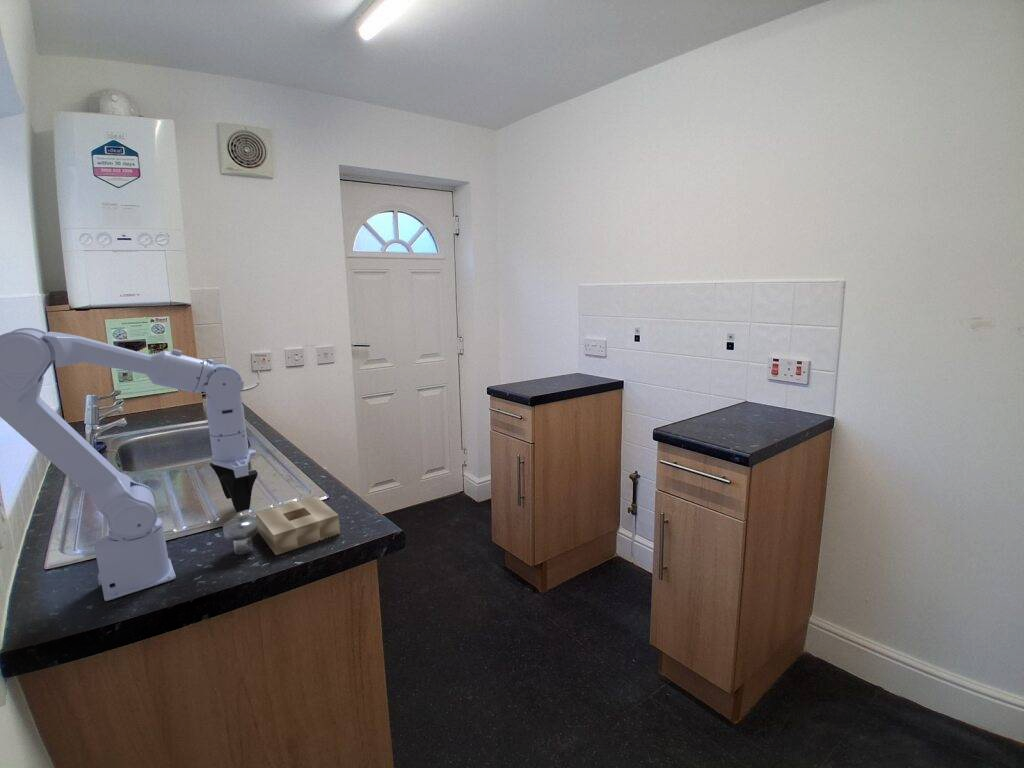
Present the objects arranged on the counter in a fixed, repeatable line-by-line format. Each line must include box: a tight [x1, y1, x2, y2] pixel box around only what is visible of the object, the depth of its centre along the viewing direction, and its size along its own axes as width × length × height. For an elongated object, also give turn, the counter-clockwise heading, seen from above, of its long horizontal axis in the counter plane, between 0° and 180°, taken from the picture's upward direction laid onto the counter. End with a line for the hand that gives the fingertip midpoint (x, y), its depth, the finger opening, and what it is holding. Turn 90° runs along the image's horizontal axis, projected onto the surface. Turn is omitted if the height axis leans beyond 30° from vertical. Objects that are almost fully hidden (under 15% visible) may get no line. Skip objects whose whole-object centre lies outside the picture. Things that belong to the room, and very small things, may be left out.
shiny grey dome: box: [222, 515, 259, 555], centre depth 94 cm, size 6×6×6 cm
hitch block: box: [255, 496, 341, 556], centre depth 100 cm, size 12×12×4 cm
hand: (237, 503), depth 93 cm, fingers open, 7 cm apart
